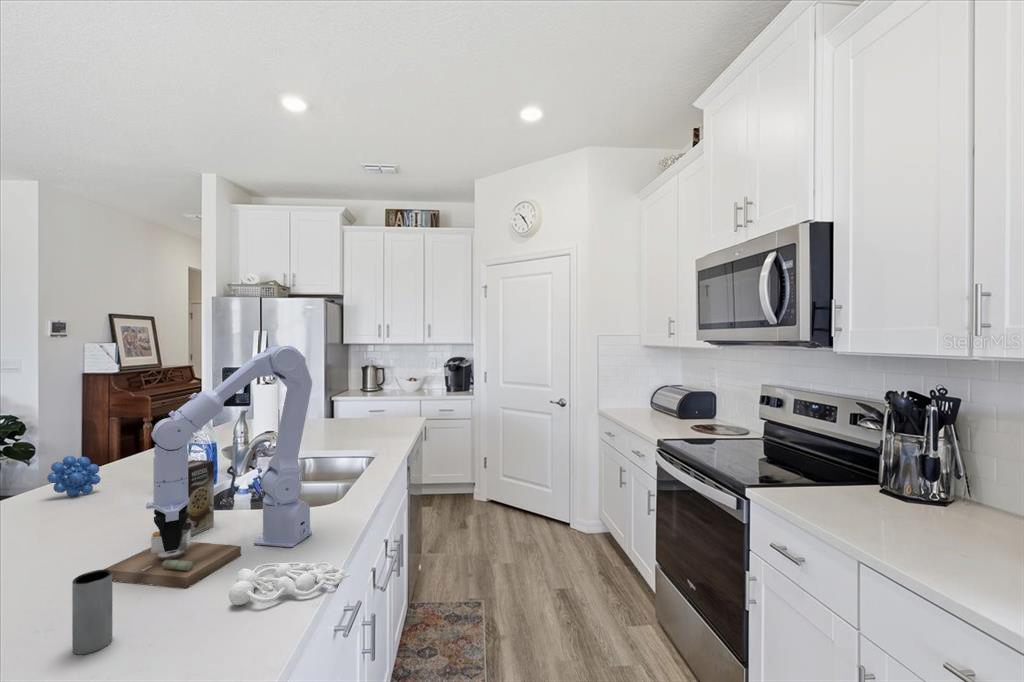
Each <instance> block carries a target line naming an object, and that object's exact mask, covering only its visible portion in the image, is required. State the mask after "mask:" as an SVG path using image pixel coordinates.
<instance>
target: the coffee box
mask: <svg viewBox="0 0 1024 682" xmlns="http://www.w3.org/2000/svg"><path fill="white" fill-rule="evenodd" d="M214 493H215V461H214V460H206V459H205V460H204V459H203V460H202V459H201V460H199V459H196V460H195V459H192V460H188V497H189V503H188V504H187V509H186V511H185V513H189V516H188V519H187V520H186V522H185V524H184V526H183V529H182V530H189V529H190V538H191V537H194V536H195V535H199V534H200V533H203V532H204V531H207V530H208V529H211V528H213V527H214V524H215V521H214V518H215V516H214V514H215V508H214V507H215V506H214V505H215V503H214V501H215V495H214Z"/></svg>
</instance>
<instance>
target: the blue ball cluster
mask: <svg viewBox="0 0 1024 682" xmlns="http://www.w3.org/2000/svg"><path fill="white" fill-rule="evenodd" d="M50 469H51V471H52V472H51V473H50V474H48V475H47V477H46V479H47V481H48V482H49V483H51V484H54V485H53V487H52V488H53V491H54V492H55V493H59V494H62V493H63V494H64V492H65V493H66V495H67V496H68V497H75V498H76V497H77V496H78V495H80V493H82V494H90V493H91V492H92V491H93V490H94V487H93V485H97V484H100V482H101V477H100V475H99V474H98V473H99V471H100V467H99V465H97V464H95V463H91V460H90V458H89V457H87V456H80V457H77V458H76V457H75V456H73V455H66V456H65V457H63V460H62V462H61V461H55V462H53V463H52V464H51V466H50Z"/></svg>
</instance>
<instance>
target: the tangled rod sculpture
mask: <svg viewBox="0 0 1024 682" xmlns="http://www.w3.org/2000/svg"><path fill="white" fill-rule="evenodd" d="M294 565H295V566H294ZM320 565H325V566H327V567H326V568H325V569H324V570H323V569H320V568H319V567H318V566H320ZM292 566H294V567H292ZM264 567H265V568H264ZM260 568H263V569H261V570H259V571H258V572H257V570H258V569H260ZM307 570H308V571H307ZM272 571H273V572H275V574H274V576H275V577H265V576H262V577H260V576H261V575H263V574H265V573H268V572H272ZM336 571H337V572H336ZM296 574H298V575H296ZM349 576H350V573H347V572H346V570H345V569H344V568H343V569H342V568H337V567H334V565H332V564H330V563H329V562H325V561H322V562H318V563H315V562H312V563H306V562H297V561H296V562H295V561H294V562H284V563H282V562H277V563H276V562H274V563H273V562H272V563H263V564H259V565H257V566H255V568H254V569H253V570H252V569H249V568H248V567H247V568H242V569H240V570H239V571H238V573H237V576H236V579H235V581H236V582H235V583H234V584H233V585H232V586H231V587H230V589H229V591H228V599H229V602H230V603H231V604H233V605H235V606H242V605H244V604H246V603H248V602H250V600H253V601H256V602H258V603H262V604H263V603H271V602H274V601H276V600H277V599H278V598H279V597H280V596H282V594H287V595H297V596H300V597H308V596H310V595H312V594H314V593H315V592H317V591H319V590H320V589H321V588H323V586H324V585H325V584H326V585H328V586H336V585H340V584H342V582H343V581H344V579H345V578H348V577H349ZM293 579H295V581H294V580H293ZM328 580H329V581H328ZM330 581H333V582H330ZM266 582H267V583H271V584H272V585H273V586H270V585H269V584H267V583H266ZM316 583H317V585H315V584H316ZM259 584H260V585H263V586H265V587H266V588H267V589H268V591H269V592H272V591H274V590H275V592H277V593H276V594H274V595H272V596H270V597H261V596H258V595H256V594H254V591H255V588H257V589H258V590H259V591H260V592H261V595H262V596H265V595H267V593H268V592H267V590H264V589H263V588H262V587H261V586H260V585H259Z"/></svg>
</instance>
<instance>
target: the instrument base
mask: <svg viewBox="0 0 1024 682" xmlns="http://www.w3.org/2000/svg"><path fill="white" fill-rule="evenodd" d="M241 552H242V547H241V545H237V544H236V545H234V544H223V543H210V542H209V543H208V542H197V541H190V546H189V547H188V549H187V550H185V553H184V554H183V555H182V556H180V557H178V558H174V559H170V560H159V559H158V553H152V554H151V547H148V548H146V549H144V550H142V551H140V552H138V553H136V554H133V555H132V556H129V557H126V558H125V559H122V560H120V561H119V562H116V563H114V564H112V565H110V566H107V567H106V568H103V569H102V570H111V571H112V580H115V581H114V582H117V581H122V582H121V583H127V582H132V583H131V584H137V583H143V584H142V585H147V584H152V585H151V586H157V585H160V587H167V586H168V587H169V588H177V587H179V588H180V589H188V588H189V587H191V586H193V585H194V584H196V583H198V582H199V581H201V580H202V579H204V578H206V577H208V576H209V575H212V574H213V573H214V572H215V571H217V570H219V569H221V568H222V567H224V566H225V565H228V564H229V563H231V562H233V561H234V560H236V559H238V558H239V557H241V555H242V553H241ZM193 583H194V584H193ZM192 584H193V585H192ZM190 585H191V586H190ZM187 587H188V588H187Z"/></svg>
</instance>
